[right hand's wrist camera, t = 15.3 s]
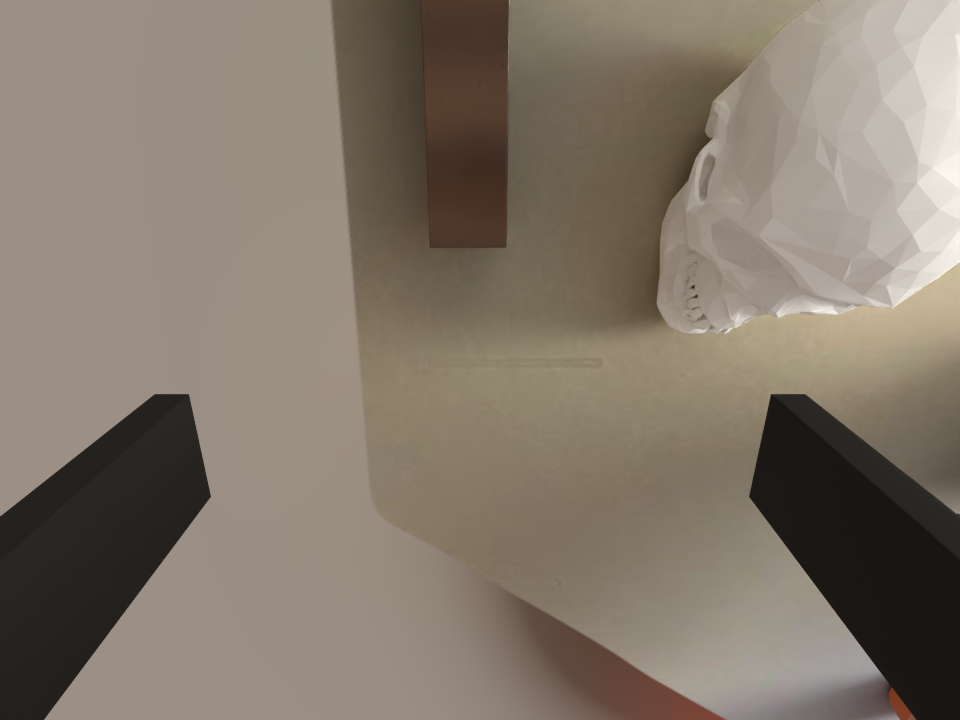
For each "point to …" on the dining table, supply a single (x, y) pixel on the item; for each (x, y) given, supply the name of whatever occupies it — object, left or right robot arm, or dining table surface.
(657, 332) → the dining table surface
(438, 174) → the walnut beam
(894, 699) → the cup with straw
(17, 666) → the right robot arm
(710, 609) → the dining table surface
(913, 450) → the dining table surface
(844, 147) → the skull
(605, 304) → the dining table surface
